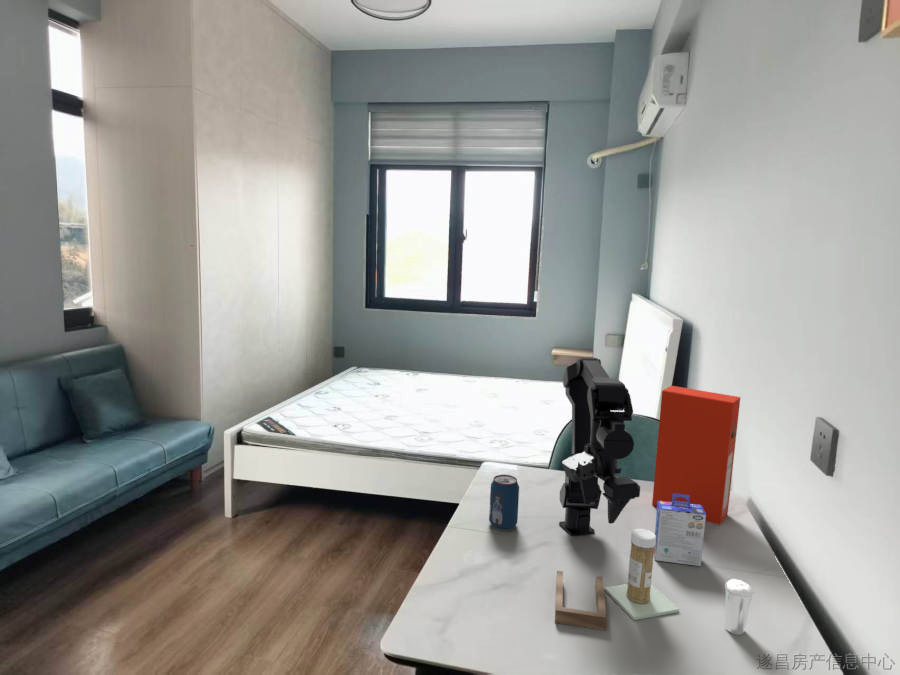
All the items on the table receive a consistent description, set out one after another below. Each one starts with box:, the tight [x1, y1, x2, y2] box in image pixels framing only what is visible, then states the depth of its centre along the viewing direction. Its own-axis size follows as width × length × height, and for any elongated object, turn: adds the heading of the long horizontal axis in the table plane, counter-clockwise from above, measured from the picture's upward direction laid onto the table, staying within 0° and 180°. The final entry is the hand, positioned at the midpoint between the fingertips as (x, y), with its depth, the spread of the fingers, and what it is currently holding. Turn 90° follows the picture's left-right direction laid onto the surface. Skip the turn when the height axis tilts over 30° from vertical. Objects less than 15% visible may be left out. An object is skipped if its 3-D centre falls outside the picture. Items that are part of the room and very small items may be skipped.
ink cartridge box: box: [653, 493, 707, 567], centre depth 132 cm, size 10×6×14 cm, turn 78°
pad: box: [603, 583, 680, 621], centre depth 116 cm, size 10×10×1 cm
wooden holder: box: [554, 570, 608, 631], centre depth 114 cm, size 14×9×2 cm, turn 169°
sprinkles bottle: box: [626, 528, 656, 603], centre depth 115 cm, size 5×5×14 cm
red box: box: [651, 385, 741, 526], centre depth 155 cm, size 8×17×32 cm, turn 52°
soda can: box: [488, 474, 520, 532], centre depth 144 cm, size 7×7×12 cm
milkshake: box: [723, 578, 754, 636], centre depth 107 cm, size 4×5×10 cm
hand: (598, 513), depth 124 cm, fingers open, 9 cm apart
